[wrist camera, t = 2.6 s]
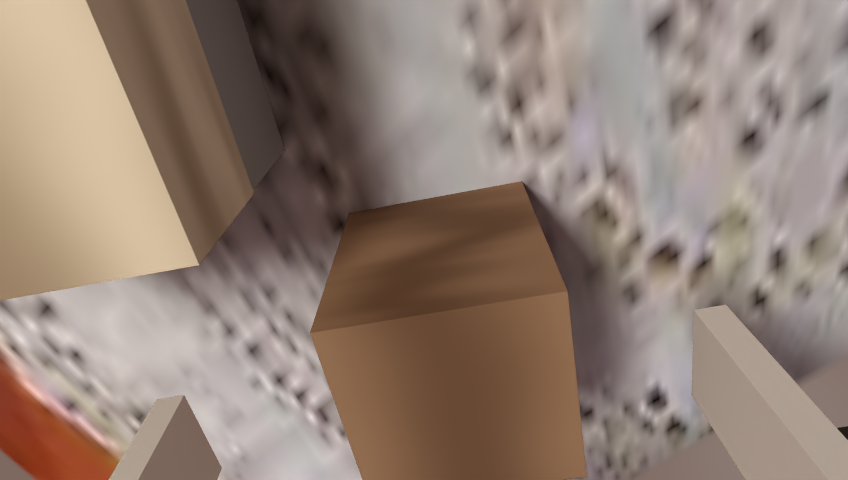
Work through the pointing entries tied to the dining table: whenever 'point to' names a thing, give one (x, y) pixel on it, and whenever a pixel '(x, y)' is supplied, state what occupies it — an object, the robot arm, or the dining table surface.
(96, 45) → the tower top
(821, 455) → the robot arm
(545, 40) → the dining table surface
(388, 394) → the walnut block
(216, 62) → the tower base
